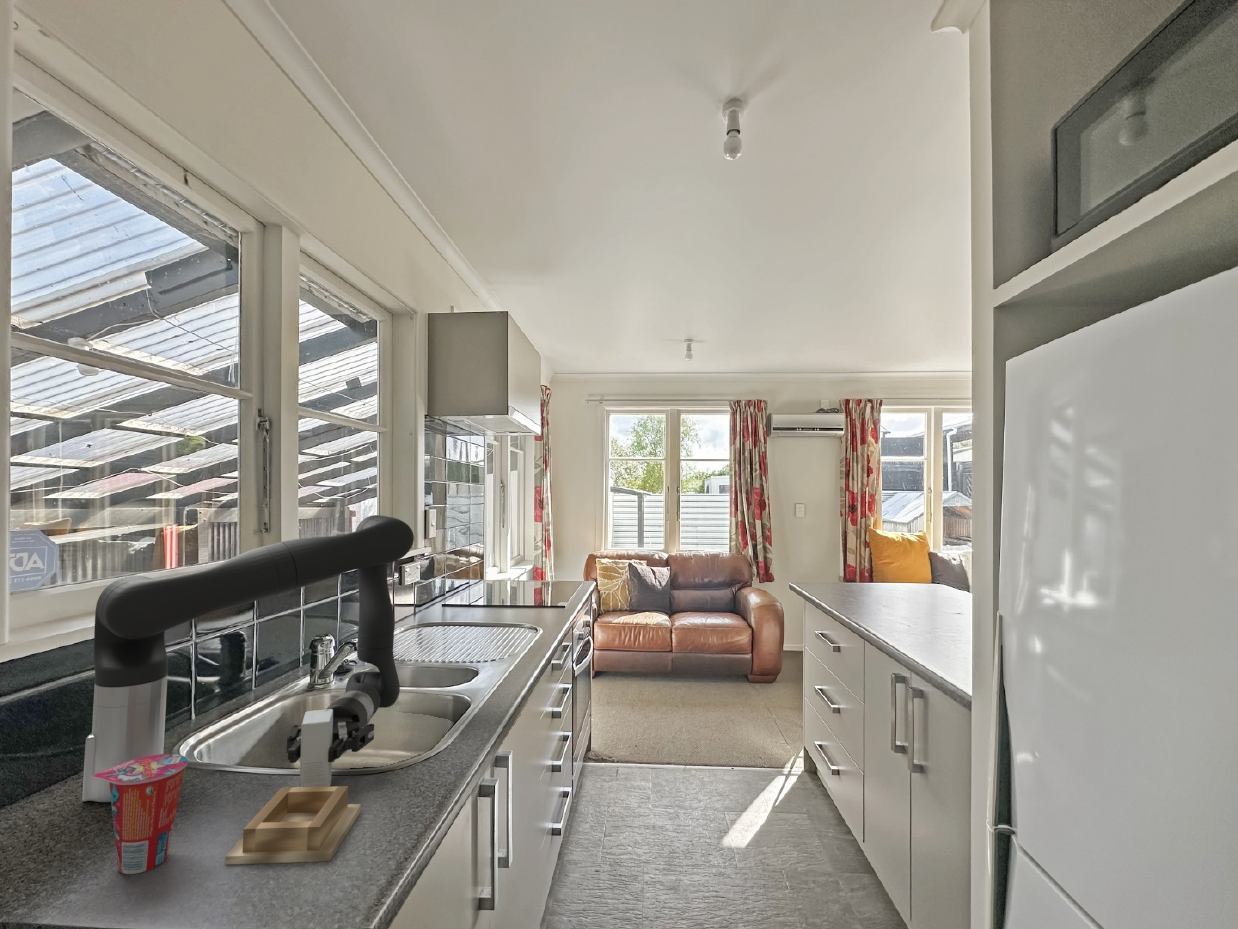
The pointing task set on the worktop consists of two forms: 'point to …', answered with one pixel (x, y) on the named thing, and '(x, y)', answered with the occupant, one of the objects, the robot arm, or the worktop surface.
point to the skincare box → (316, 748)
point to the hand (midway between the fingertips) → (311, 756)
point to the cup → (144, 808)
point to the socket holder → (297, 827)
